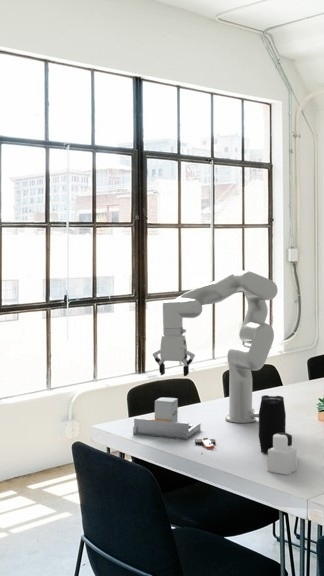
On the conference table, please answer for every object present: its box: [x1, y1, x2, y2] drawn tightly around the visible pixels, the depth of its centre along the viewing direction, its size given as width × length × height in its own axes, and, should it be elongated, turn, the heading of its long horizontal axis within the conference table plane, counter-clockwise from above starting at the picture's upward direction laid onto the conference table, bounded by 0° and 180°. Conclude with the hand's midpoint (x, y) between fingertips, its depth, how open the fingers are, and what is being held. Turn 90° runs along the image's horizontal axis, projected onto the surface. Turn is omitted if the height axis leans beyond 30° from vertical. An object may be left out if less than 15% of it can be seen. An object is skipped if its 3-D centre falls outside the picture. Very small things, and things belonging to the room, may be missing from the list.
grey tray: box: [132, 417, 201, 441], centre depth 276 cm, size 22×16×6 cm
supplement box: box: [154, 397, 179, 422], centre depth 274 cm, size 7×7×13 cm
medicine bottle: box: [267, 432, 298, 476], centre depth 228 cm, size 7×7×12 cm
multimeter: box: [194, 436, 217, 455], centre depth 254 cm, size 18×12×3 cm, turn 176°
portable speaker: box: [258, 394, 287, 454], centre depth 249 cm, size 9×9×20 cm
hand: (174, 375), depth 278 cm, fingers open, 9 cm apart
